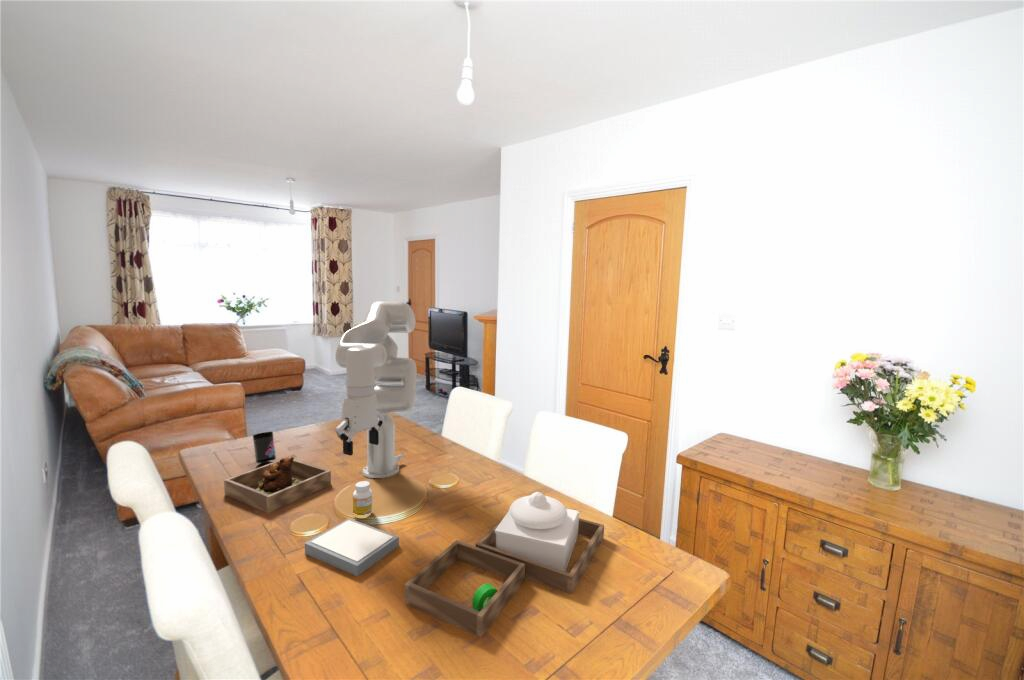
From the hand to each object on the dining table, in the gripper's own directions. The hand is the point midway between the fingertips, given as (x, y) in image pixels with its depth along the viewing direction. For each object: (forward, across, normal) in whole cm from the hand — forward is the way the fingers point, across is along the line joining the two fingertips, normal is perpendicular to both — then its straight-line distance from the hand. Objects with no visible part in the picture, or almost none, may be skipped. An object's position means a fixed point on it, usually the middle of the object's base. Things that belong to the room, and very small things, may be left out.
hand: (361, 449), depth 128 cm
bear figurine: (+21, +3, -35) cm, 41 cm away
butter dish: (+21, -11, +52) cm, 57 cm away
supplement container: (+20, -9, -59) cm, 63 cm away
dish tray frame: (+20, -10, +53) cm, 58 cm away
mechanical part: (+23, +13, +55) cm, 61 cm away
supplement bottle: (+20, 0, 0) cm, 21 cm away
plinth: (+20, +14, +11) cm, 27 cm away
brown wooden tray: (+20, +2, -35) cm, 40 cm away
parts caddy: (+20, +12, +45) cm, 51 cm away
